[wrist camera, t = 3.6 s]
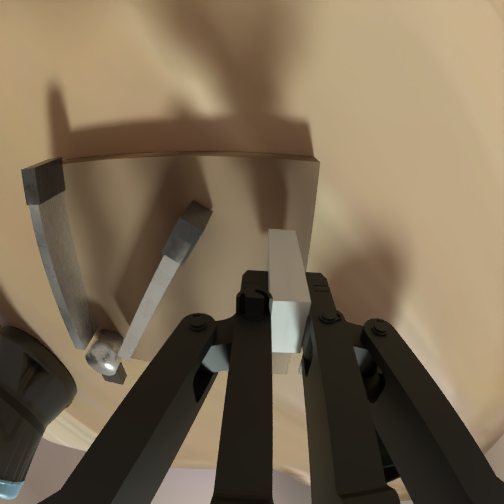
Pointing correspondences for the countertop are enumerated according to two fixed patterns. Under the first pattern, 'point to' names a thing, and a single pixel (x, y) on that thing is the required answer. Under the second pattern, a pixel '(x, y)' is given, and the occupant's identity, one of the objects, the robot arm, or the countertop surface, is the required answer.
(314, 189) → the board
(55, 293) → the tongs fixed
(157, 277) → the tong arm
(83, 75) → the countertop surface
